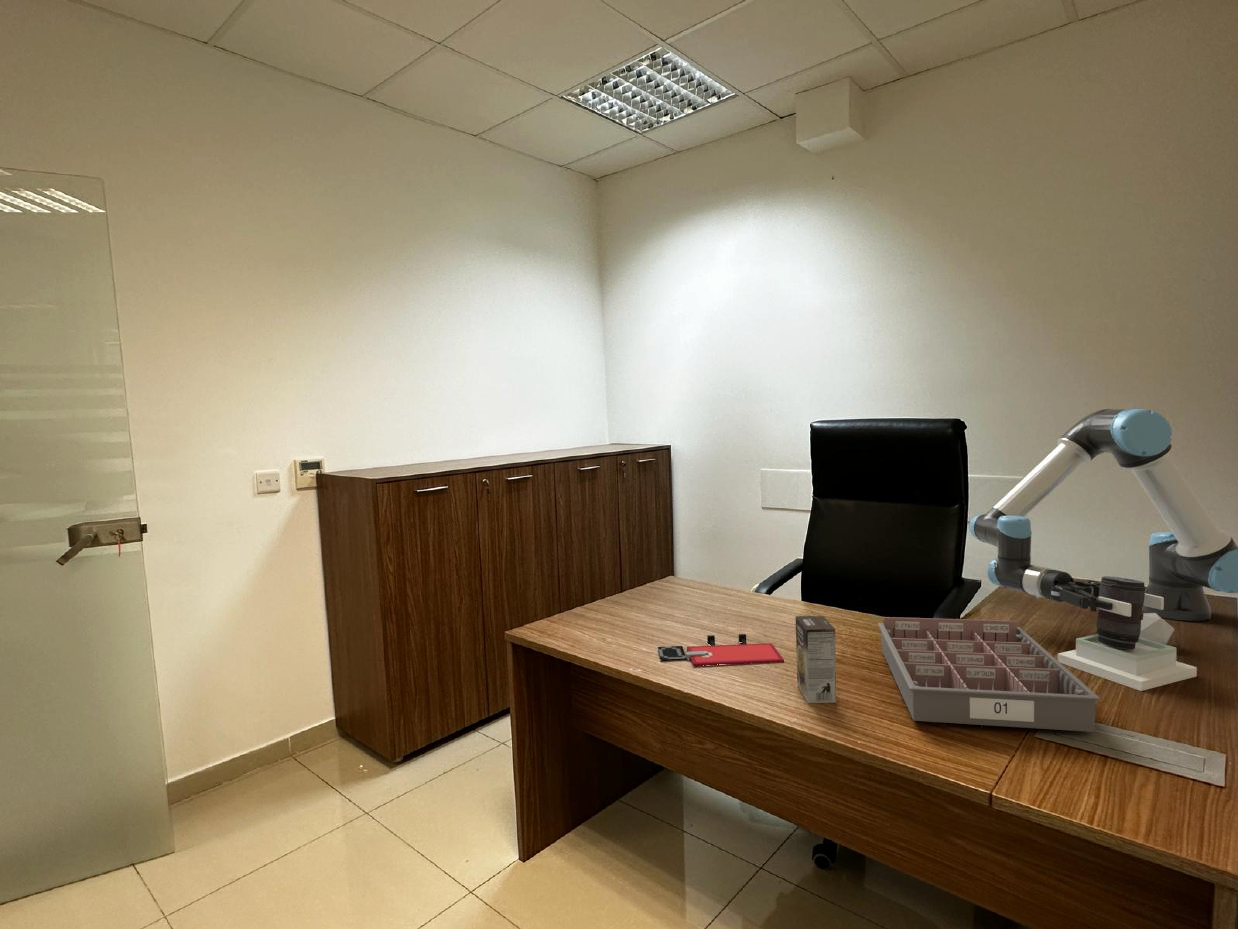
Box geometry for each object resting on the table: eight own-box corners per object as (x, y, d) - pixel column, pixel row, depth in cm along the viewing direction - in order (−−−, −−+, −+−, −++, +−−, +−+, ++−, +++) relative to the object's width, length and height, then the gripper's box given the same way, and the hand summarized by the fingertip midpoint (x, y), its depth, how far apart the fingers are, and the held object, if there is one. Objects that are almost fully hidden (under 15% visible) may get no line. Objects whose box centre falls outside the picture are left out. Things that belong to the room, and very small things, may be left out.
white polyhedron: (1175, 656, 155) (1186, 620, 157) (1139, 638, 156) (1151, 602, 159) (1148, 657, 163) (1159, 622, 165) (1114, 639, 164) (1126, 605, 166)
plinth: (1110, 649, 159) (1110, 625, 159) (1196, 676, 142) (1197, 649, 142) (1057, 661, 153) (1057, 637, 153) (1140, 691, 136) (1141, 663, 136)
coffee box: (796, 686, 146) (794, 615, 145) (825, 685, 146) (823, 614, 145) (806, 704, 137) (804, 629, 136) (837, 703, 137) (836, 628, 136)
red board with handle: (657, 647, 174) (662, 670, 159) (656, 637, 174) (662, 659, 159) (768, 643, 175) (784, 665, 160) (767, 633, 175) (784, 654, 160)
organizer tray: (910, 729, 125) (909, 679, 124) (877, 653, 164) (877, 615, 163) (1101, 742, 117) (1102, 688, 117) (1020, 659, 156) (1020, 619, 155)
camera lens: (1109, 639, 152) (1116, 575, 152) (1147, 650, 145) (1154, 583, 144) (1085, 639, 150) (1092, 574, 149) (1122, 650, 142) (1130, 582, 142)
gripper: (1080, 592, 167) (1179, 616, 147) (1016, 604, 160) (1110, 631, 139) (1080, 564, 167) (1180, 583, 146) (1016, 574, 159) (1111, 596, 139)
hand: (1146, 607), depth 143 cm, fingers open, 10 cm apart
